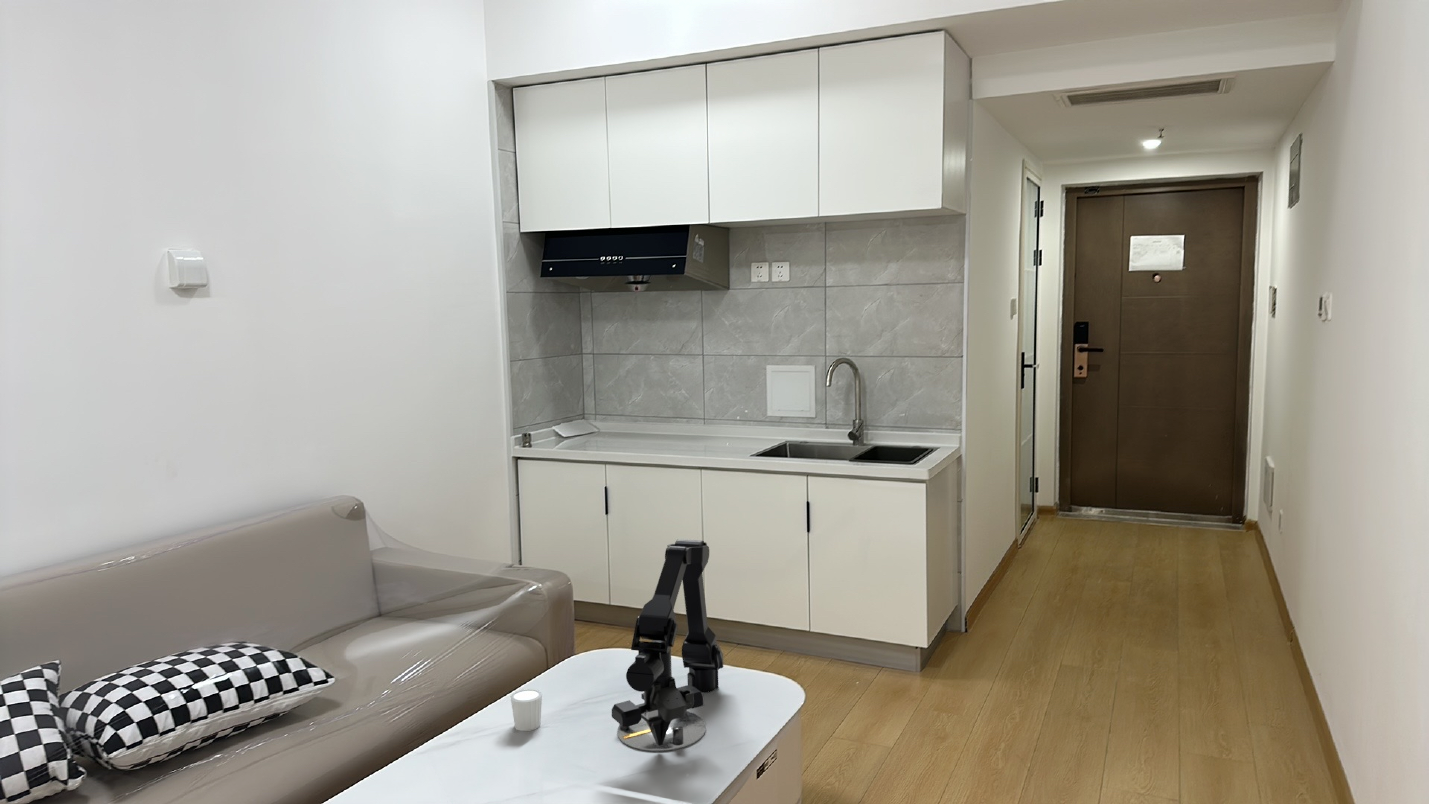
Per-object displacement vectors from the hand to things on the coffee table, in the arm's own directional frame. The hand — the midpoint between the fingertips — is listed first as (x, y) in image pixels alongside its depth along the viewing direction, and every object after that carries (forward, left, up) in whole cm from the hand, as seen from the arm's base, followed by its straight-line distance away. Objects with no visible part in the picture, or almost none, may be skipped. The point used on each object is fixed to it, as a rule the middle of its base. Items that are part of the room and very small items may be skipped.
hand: (659, 744), depth 193 cm
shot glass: (+20, -27, -2) cm, 34 cm away
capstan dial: (-4, -8, -1) cm, 9 cm away
